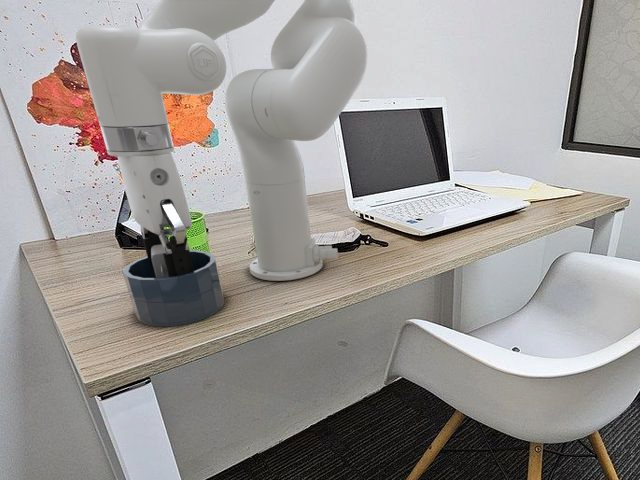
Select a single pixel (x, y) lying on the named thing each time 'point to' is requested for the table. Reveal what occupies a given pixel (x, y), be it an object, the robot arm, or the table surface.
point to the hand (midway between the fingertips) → (171, 270)
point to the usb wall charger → (159, 261)
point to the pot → (175, 292)
